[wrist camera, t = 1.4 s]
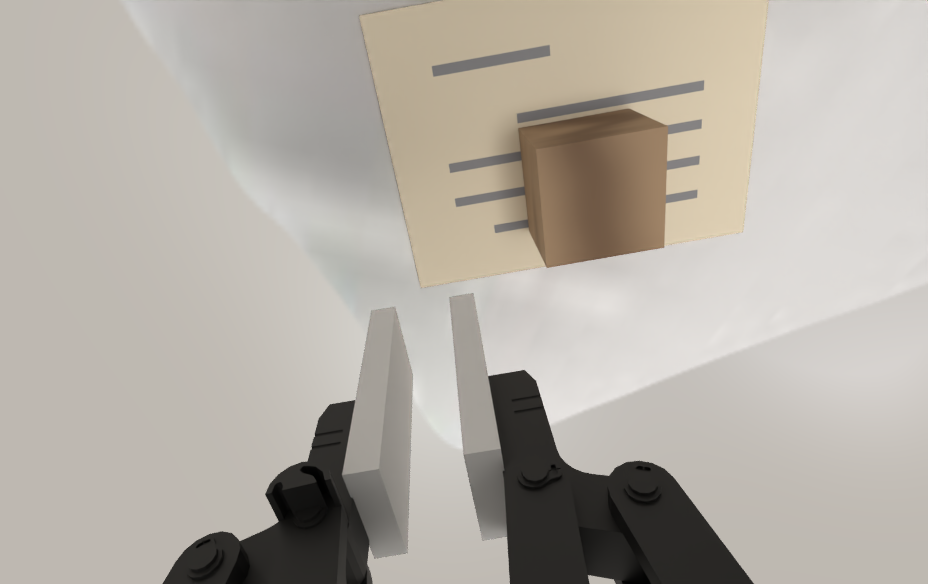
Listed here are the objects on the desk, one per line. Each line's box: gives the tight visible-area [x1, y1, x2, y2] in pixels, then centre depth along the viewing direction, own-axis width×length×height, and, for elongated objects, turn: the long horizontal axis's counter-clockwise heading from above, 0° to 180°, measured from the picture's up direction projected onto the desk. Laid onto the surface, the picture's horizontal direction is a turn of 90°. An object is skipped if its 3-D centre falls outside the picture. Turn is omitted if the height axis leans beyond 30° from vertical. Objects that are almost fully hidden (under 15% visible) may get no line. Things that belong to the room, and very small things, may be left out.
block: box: [518, 109, 668, 268], centre depth 27 cm, size 6×6×5 cm
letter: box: [359, 0, 769, 288], centre depth 28 cm, size 20×15×1 cm
